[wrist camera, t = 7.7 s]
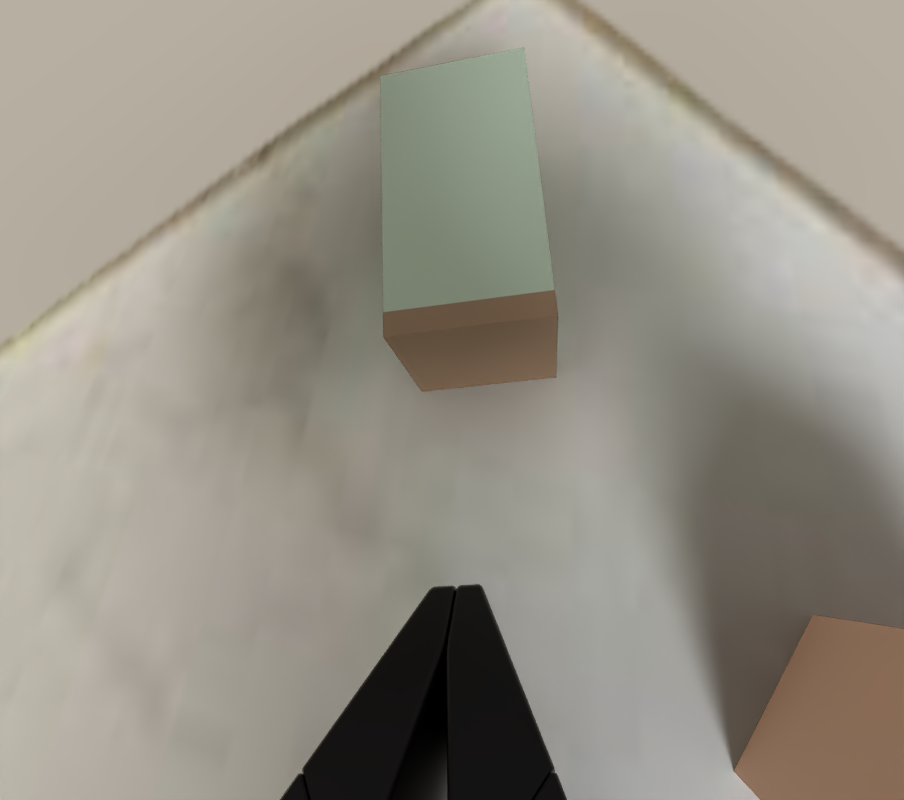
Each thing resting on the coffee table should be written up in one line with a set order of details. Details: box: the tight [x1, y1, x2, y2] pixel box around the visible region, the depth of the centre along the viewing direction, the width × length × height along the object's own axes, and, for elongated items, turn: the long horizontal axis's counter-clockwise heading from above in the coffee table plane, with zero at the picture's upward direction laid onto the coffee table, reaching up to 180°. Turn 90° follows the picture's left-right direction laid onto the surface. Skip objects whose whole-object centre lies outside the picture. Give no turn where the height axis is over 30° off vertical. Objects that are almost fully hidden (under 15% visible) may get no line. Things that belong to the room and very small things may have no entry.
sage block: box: [380, 48, 558, 391], centre depth 19 cm, size 5×5×10 cm
